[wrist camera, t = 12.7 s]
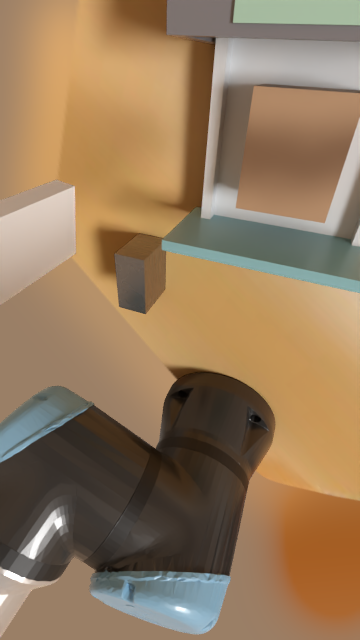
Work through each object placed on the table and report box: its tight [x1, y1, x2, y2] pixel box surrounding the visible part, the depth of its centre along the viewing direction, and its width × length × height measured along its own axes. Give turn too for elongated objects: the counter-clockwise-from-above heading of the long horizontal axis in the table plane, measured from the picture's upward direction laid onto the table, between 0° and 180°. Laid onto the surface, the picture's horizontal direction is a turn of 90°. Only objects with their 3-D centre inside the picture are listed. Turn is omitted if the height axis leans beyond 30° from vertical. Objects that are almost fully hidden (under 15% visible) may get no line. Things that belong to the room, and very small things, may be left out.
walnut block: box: [236, 84, 360, 223], centre depth 21 cm, size 7×6×4 cm
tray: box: [162, 37, 360, 293], centre depth 20 cm, size 16×15×8 cm
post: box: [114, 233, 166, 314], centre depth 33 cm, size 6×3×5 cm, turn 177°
